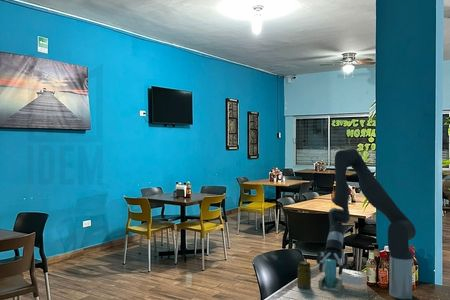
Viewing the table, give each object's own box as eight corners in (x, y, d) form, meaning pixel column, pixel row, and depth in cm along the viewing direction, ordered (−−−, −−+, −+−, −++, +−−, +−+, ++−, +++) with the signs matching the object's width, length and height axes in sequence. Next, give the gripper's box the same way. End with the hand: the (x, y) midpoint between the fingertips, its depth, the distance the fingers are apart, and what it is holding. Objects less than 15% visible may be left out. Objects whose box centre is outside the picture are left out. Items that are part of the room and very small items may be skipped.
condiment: (303, 284, 190) (303, 259, 190) (317, 289, 184) (318, 263, 184) (293, 288, 186) (293, 262, 185) (307, 293, 179) (307, 266, 179)
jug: (337, 284, 188) (337, 259, 188) (334, 289, 182) (334, 263, 182) (325, 283, 191) (326, 258, 190) (322, 288, 184) (322, 262, 184)
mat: (363, 278, 199) (363, 277, 199) (360, 286, 189) (360, 284, 189) (340, 275, 203) (340, 274, 203) (336, 282, 193) (336, 281, 193)
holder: (343, 285, 190) (343, 277, 190) (339, 292, 181) (339, 284, 180) (321, 282, 194) (321, 274, 194) (317, 288, 185) (317, 281, 185)
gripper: (319, 237, 197) (313, 266, 187) (349, 240, 191) (345, 271, 181) (321, 245, 202) (316, 274, 192) (350, 248, 196) (346, 279, 186)
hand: (330, 272), depth 186 cm, fingers open, 8 cm apart
